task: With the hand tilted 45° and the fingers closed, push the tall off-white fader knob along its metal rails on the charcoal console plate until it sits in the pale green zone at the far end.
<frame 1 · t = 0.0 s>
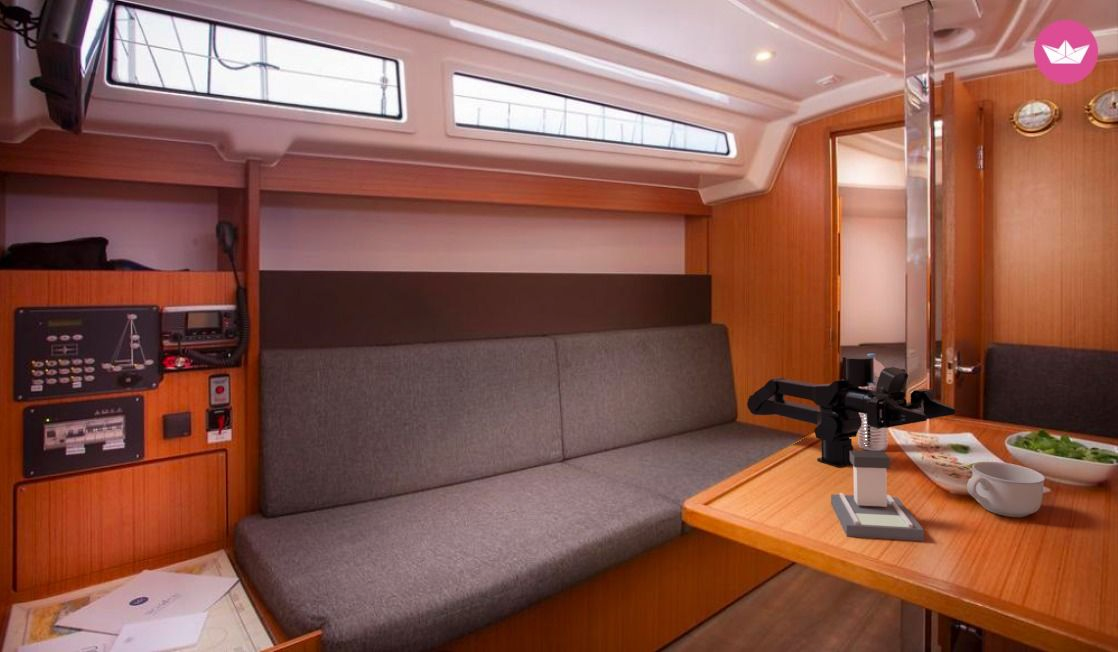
hand: (941, 415, 116), 17 cm above the table, tool horizontal, fingers open, 9 cm apart
fader knob: (869, 478, 108), point 7 cm above the table, slide at 0.0 cm
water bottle: (872, 448, 150), on the table
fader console: (873, 521, 106), on the table
teacup: (999, 512, 108), on the table
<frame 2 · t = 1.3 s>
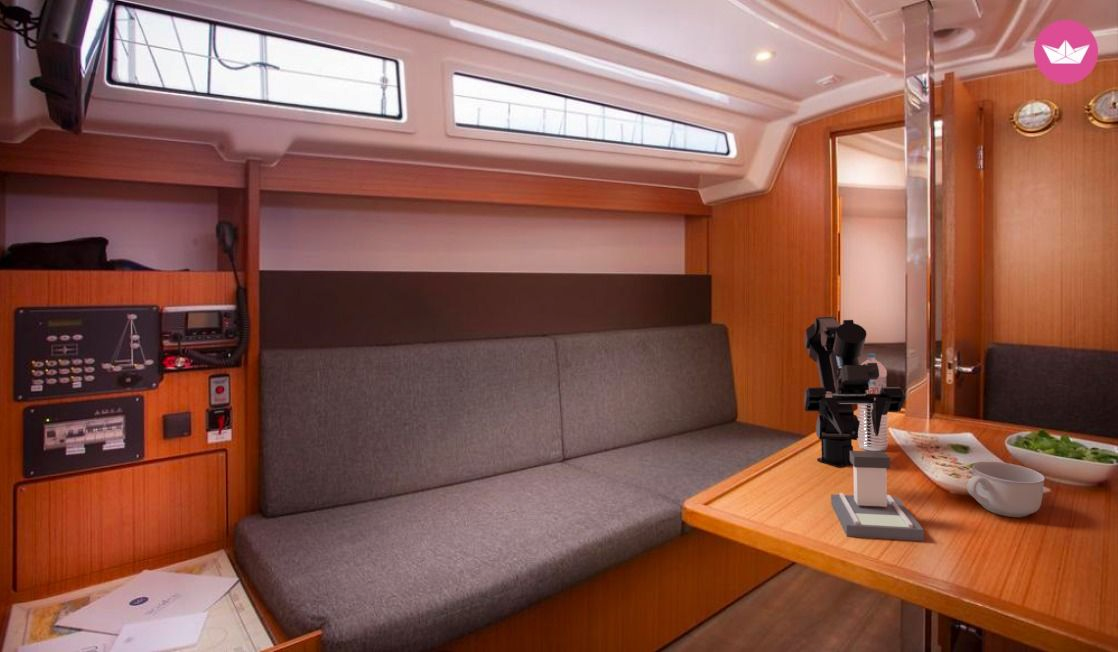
hand: (859, 434, 116), 14 cm above the table, tool tilted 45°, fingers open, 6 cm apart
nothing on the table moved.
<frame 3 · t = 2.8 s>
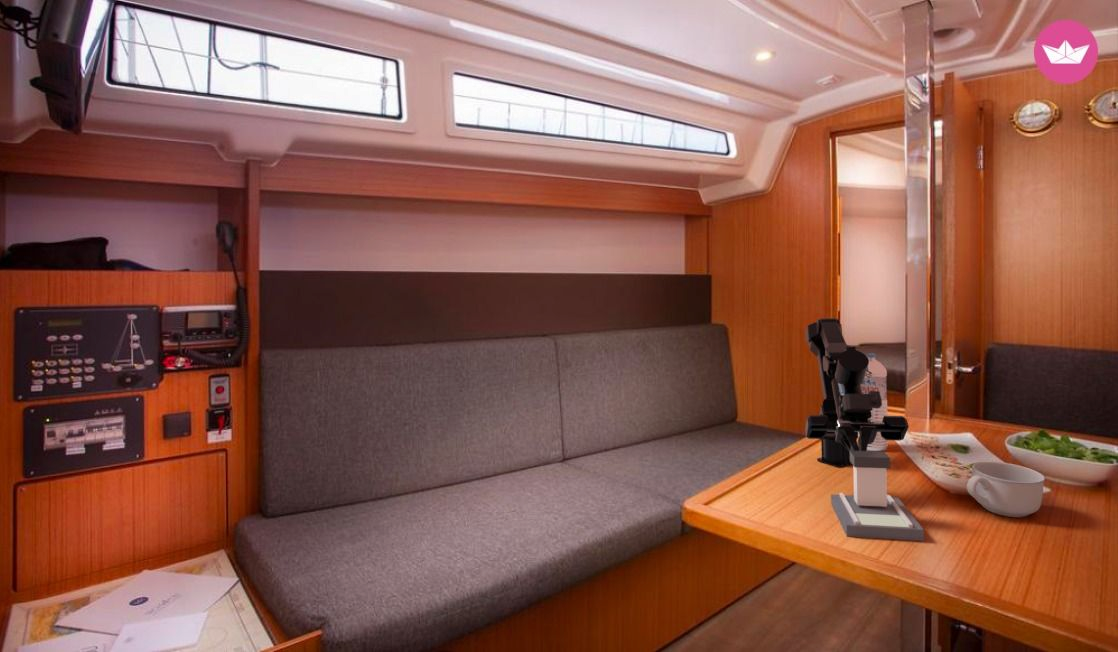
hand: (862, 464, 114), 8 cm above the table, tool tilted 45°, fingers closed
nothing on the table moved.
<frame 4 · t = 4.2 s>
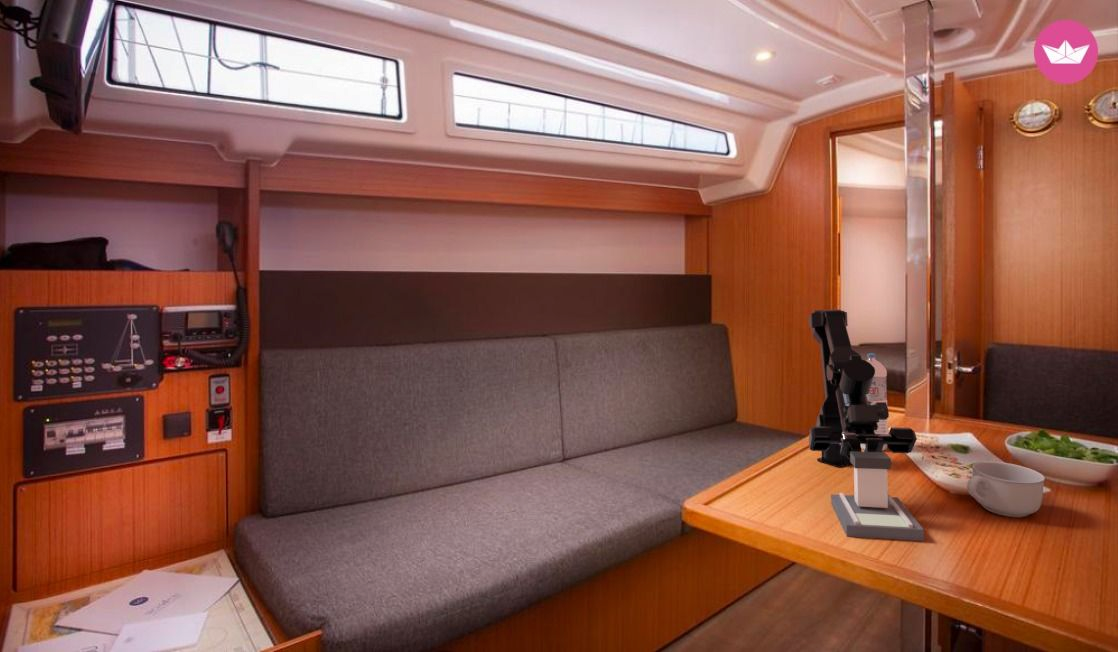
hand: (868, 478, 110), 7 cm above the table, tool tilted 45°, fingers closed, pressing on fader knob
fader knob: (870, 479, 108), point 7 cm above the table, slide at 0.5 cm, touching gripper
everything else where it was.
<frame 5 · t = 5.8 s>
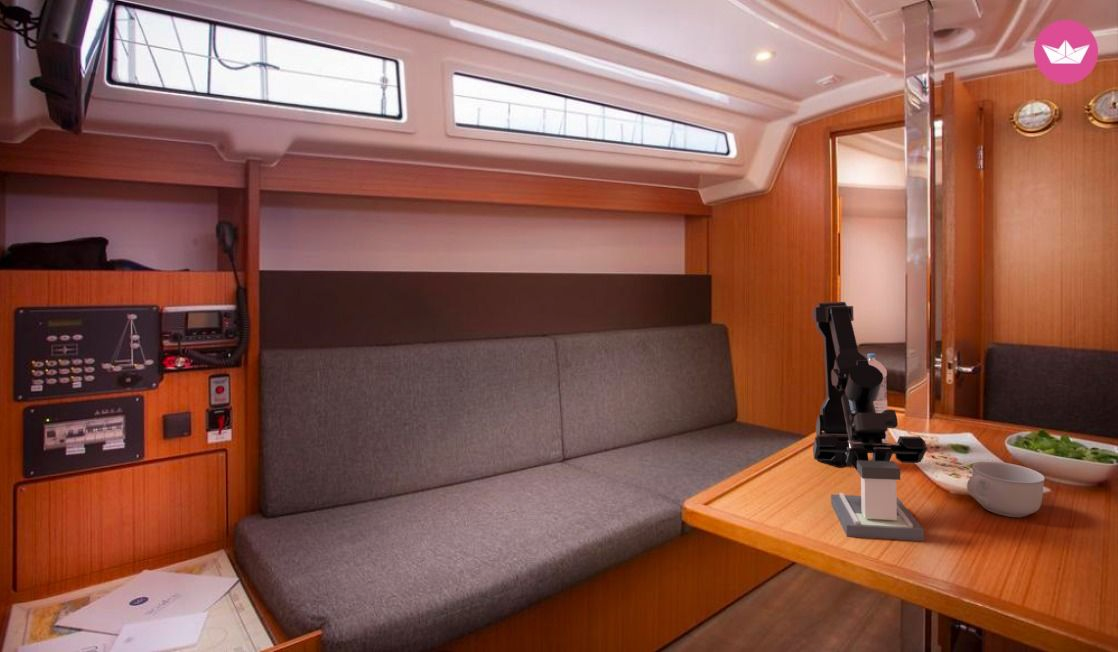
hand: (875, 490, 104), 7 cm above the table, tool tilted 45°, fingers closed, pressing on fader knob
fader knob: (878, 490, 102), point 7 cm above the table, slide at 6.2 cm, touching gripper
everything else where it was.
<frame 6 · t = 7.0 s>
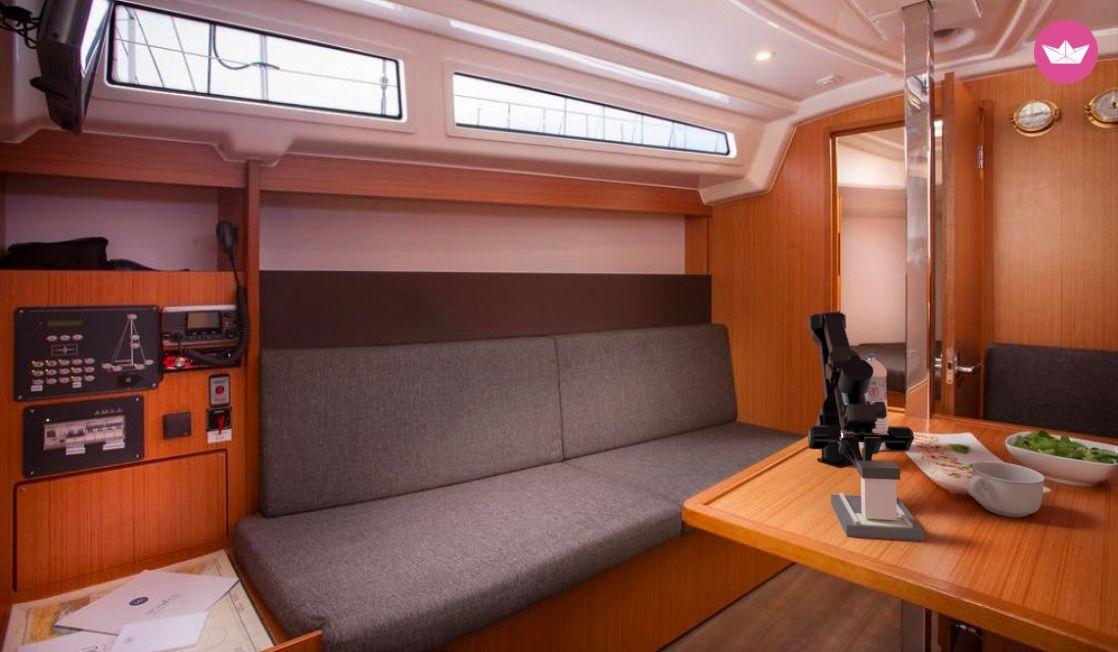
hand: (866, 476, 111), 7 cm above the table, tool tilted 45°, fingers closed
fader knob: (878, 490, 102), point 7 cm above the table, slide at 6.2 cm
everything else where it was.
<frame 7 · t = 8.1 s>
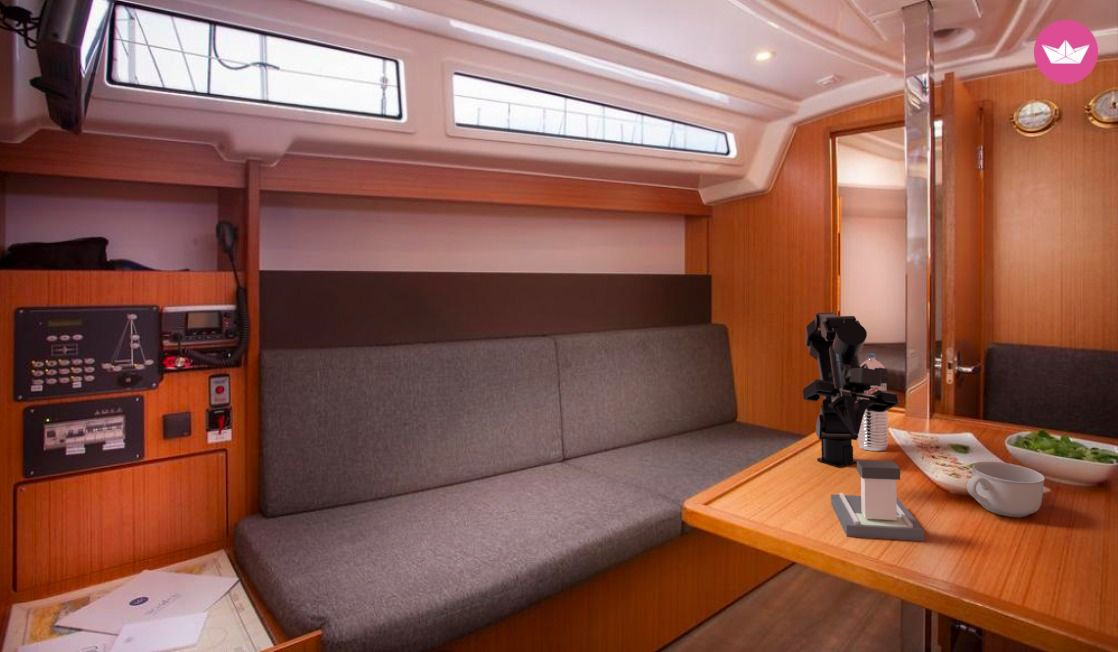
hand: (855, 434, 119), 13 cm above the table, tool tilted 35°, fingers closed
nothing on the table moved.
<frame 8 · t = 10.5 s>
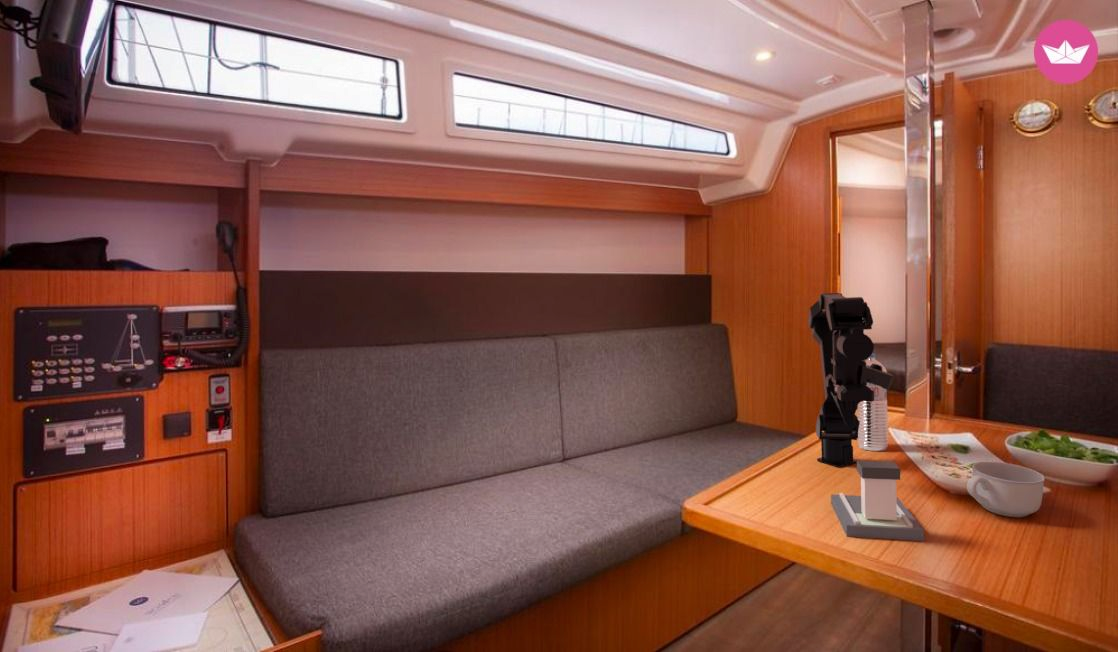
hand: (848, 425, 125), 13 cm above the table, tool pointing down, fingers closed
nothing on the table moved.
at the end: fader knob slide at 6.2 cm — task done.
